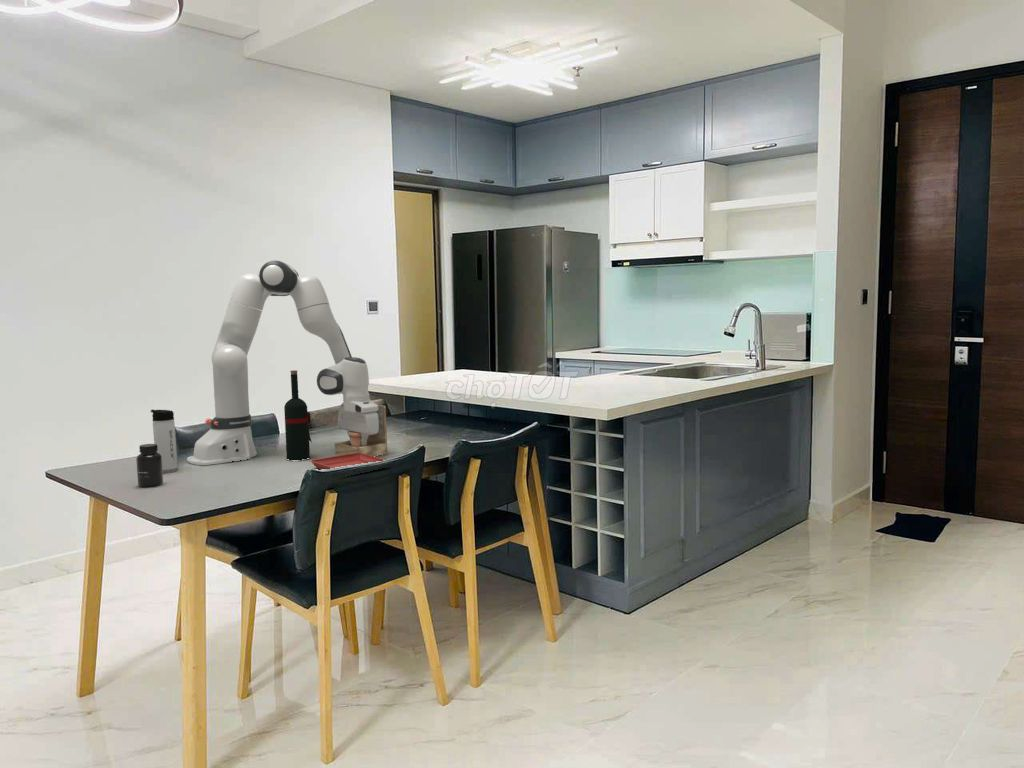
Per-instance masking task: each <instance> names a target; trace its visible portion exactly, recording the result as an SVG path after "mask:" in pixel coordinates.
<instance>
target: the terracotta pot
mask: <svg viewBox="0 0 1024 768" xmlns="http://www.w3.org/2000/svg"><path fill="white" fill-rule="evenodd" d="M349 436H350V437H351V446H353V447H357V448H359V447H365V446H361V445H360V441H361V439H362V436H361V433H358V432H353V431H351V432H349V435H348V437H349Z"/></svg>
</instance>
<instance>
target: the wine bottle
mask: <svg viewBox="0 0 1024 768" xmlns="http://www.w3.org/2000/svg"><path fill="white" fill-rule="evenodd" d="M289 372H290V386H291V398H290V399H289V400H288V401H286V402H285V405H284V431H285V450H286V452H285V453H286V460H287V459H289V460H302V459H307V458H310V459H311V449H310V442H311V443H313V440H312V438H311V436H310V435H311V434H310V427H309V424H310V423H311V412H310V411H308V405H307V403H306V402H305V400H303V399H302V398H300V397H299V384H298V383H299V381H298V379H299V378H298V370H289ZM307 460H308V459H307Z"/></svg>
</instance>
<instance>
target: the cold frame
mask: <svg viewBox="0 0 1024 768" xmlns="http://www.w3.org/2000/svg"><path fill="white" fill-rule="evenodd" d="M377 405H378V411H375V412H377V414H378V420H379V430H378V433H377V434H373V435H369V436H368V439H367V445H366V446H365V447H359V448H357V447H353V446H351V443H350V440H345V441H339V442H334V455H336V454H337V455H336V456H340V455H346V454H353V453H363V454H367V455H370V456H377V455H382V456H384V455H383V454H387V455H388V437H387V436H388V435H387V433H388V432H387V410H386V409H387V408H386V405H381V404H380V405H379V404H377ZM377 457H378V456H377Z"/></svg>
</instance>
